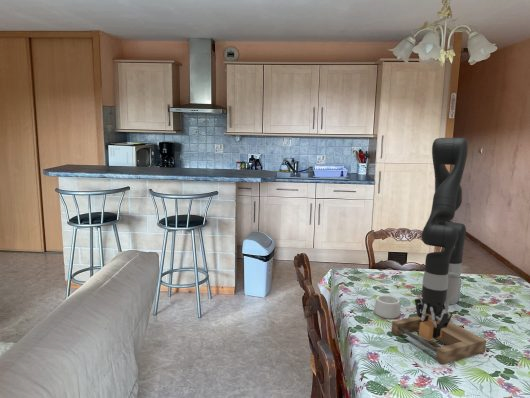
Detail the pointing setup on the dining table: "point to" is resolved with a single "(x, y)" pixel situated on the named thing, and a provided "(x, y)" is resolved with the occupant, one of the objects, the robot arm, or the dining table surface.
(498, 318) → the dining table surface
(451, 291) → the chalice
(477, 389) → the dining table surface
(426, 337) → the tall cardboard carton
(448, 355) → the shelf
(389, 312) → the mug
